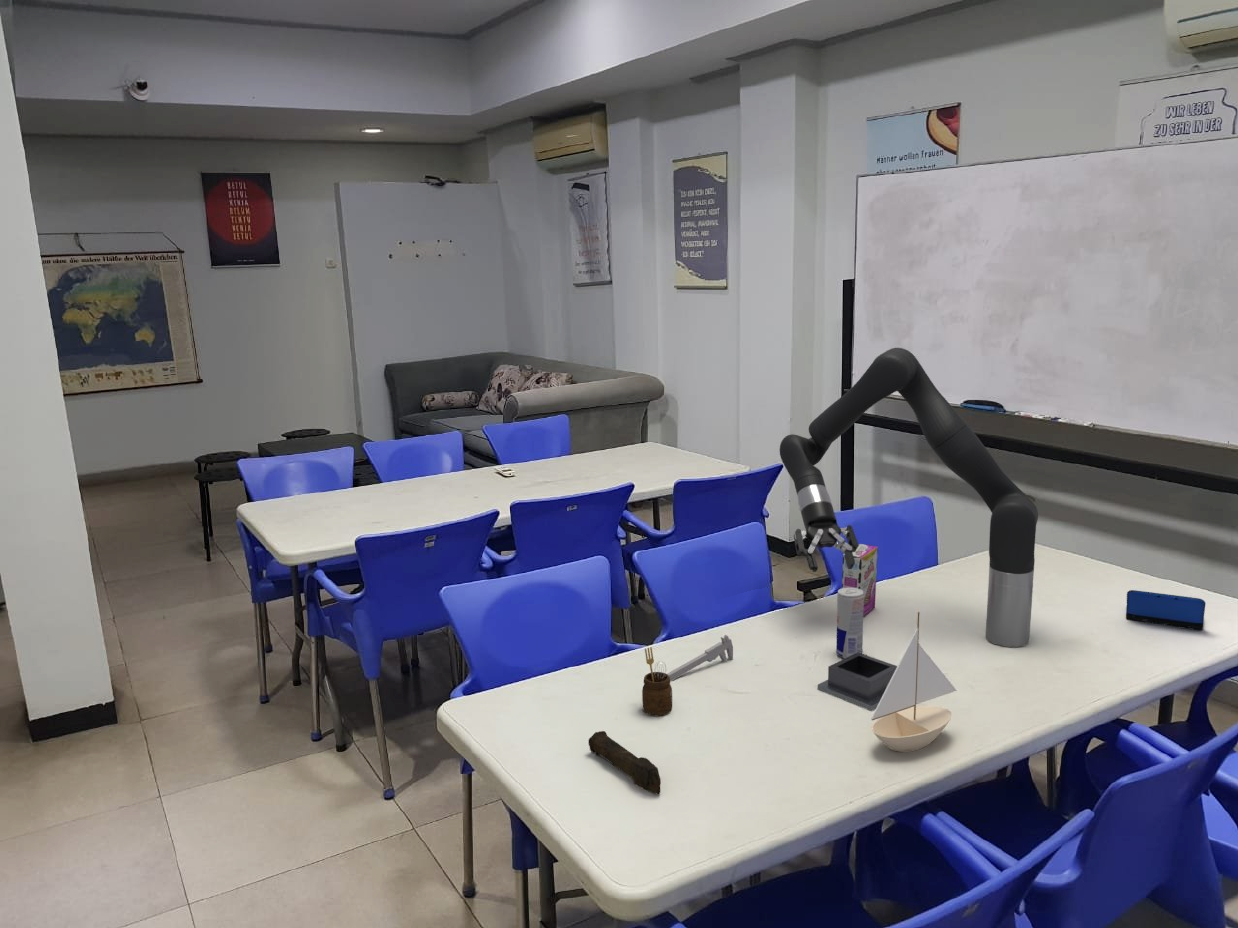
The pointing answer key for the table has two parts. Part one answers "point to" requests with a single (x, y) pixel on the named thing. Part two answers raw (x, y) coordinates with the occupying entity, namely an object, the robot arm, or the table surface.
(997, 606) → the robot arm
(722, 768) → the table surface
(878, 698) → the dark grey square holder
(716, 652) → the caliper
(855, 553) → the candy bar box
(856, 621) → the beverage can
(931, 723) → the toy sailboat
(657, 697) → the utensil holder
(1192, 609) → the handheld game console
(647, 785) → the hand tool
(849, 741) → the table surface
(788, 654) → the table surface
